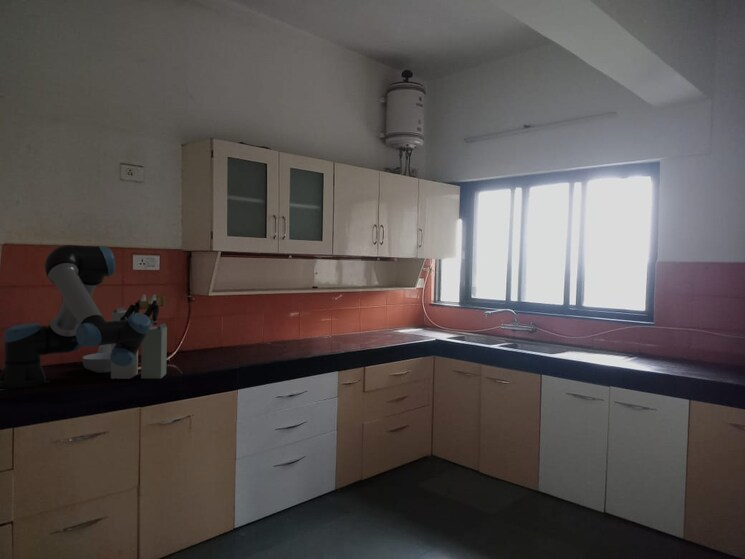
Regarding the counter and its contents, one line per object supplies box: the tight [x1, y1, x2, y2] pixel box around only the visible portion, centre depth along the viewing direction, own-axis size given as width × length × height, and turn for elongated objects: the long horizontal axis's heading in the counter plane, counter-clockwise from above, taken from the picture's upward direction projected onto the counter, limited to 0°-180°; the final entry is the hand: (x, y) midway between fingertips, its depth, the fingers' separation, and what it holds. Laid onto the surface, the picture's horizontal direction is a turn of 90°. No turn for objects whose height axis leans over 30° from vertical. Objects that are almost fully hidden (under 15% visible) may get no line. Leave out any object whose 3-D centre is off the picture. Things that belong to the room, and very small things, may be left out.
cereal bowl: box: [81, 352, 111, 374], centre depth 224 cm, size 17×17×7 cm
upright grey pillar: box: [140, 322, 168, 380], centre depth 217 cm, size 8×9×22 cm
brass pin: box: [140, 294, 166, 310], centre depth 210 cm, size 4×23×4 cm, turn 8°
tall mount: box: [110, 307, 139, 380], centre depth 215 cm, size 8×9×29 cm
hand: (149, 297), depth 206 cm, fingers closed on brass pin, 3 cm apart
